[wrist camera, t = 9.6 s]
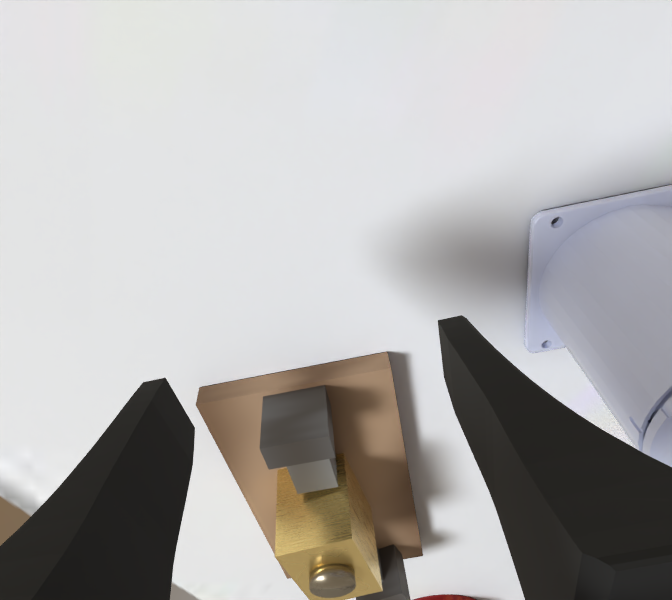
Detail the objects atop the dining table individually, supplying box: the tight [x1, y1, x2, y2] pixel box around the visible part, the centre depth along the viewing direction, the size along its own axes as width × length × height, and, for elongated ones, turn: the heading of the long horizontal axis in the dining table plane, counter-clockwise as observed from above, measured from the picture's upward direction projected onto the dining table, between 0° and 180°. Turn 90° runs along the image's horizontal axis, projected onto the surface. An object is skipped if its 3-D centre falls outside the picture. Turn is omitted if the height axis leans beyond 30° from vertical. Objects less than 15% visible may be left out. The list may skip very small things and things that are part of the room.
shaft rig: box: [196, 352, 423, 600], centre depth 29 cm, size 10×19×4 cm, turn 11°
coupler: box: [275, 453, 383, 600], centre depth 27 cm, size 6×4×6 cm, turn 18°
